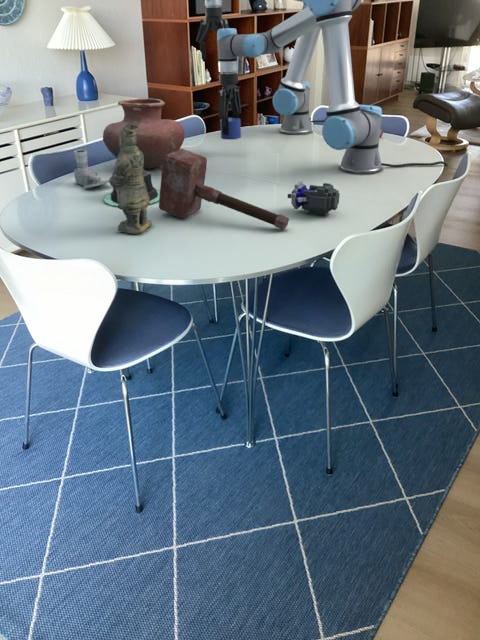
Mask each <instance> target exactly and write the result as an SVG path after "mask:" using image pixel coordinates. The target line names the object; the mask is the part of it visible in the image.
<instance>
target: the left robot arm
mask: <svg viewBox="0 0 480 640" xmlns="http://www.w3.org/2000/svg"><path fill="white" fill-rule="evenodd" d="M294 1H296V2H300V3H302V4H303V5H302V8H301V10H303V9H305V8H306V7H308V3H307V0H294ZM204 6H205V7H204V8H205V9H204V15H205V18H206V19H205V18H201V19H200V25H199V28H198V31H197V34H196V37H195V38H196V39H195V42H196V43H198V44H199V52H200V53H201V54H200V56H201V60H207V43H206V40H207V38H208V37H209V35H210V33H211V32H213V31H215V32H218V30H219V29H225V28H230V26H229V20H228V19H227V18H225V19H223V8H222V6H223V0H204ZM321 32H322V29H321V28H320V27H319V26H318V27H316V28H315V29H313V30H311V31H309V32H308V33H306V34H304V35H302V36H301V37H299V38H297V39H295V44H294V47H293V51H292V54H291V57H290V61H289V64H288V68H287V70H286V73H285V76H284V77H283V78H281V79H280V82H279V85H278V89H277V90H276V91H275V92H274V94H273V97H272V106H273V109H274V110H275V112H277V113H278V114H279V115H282V116H283V119H282V122H281V125H280V133H282V134H284V135H293V136H294V135H295V136H298V135H299V136H300V135H308V134H310V133H312V132H313V126H312V123H325V121H326V120H327V119H322V120H320V119H318V120H316V119H315V120H311V119H310V98H311V97H310V96H311V95H310V94H311V84H310V82H309V81H305V80H306V77H307V74H308V71H309V69H310V65H311V62H312V59H313V55H314V53H315V49H316V46H317V43H318V40H319V37H320V33H321Z"/></svg>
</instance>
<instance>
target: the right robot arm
mask: <svg viewBox="0 0 480 640" xmlns="http://www.w3.org/2000/svg"><path fill="white" fill-rule="evenodd" d="M307 3H308V7H306V8H305V9H303V10H302V9H301V10H299V11H298V12H297V13H295V14H293V15H292V16H290V17H289V18H286V19H285V20H283V21H282V22H281V23H279V24H277V25H275V26H274V27H272V28H270V29H269V30H267V31H265V32H257V33H251V34H250V33H248V34H238V31H237V28H233V27H232V28H231V27H229V28H225V29H224V28H223V29H219V30H218V31H216V32H217V33H216V44H217V45H216V46H217V61H218V63H217V66H218V79H219V80H218V83H219V84H220V85H222V87H221V90H218V92H217V94H218V110H217V111H218V112H217V113H218V115H217V116H218V118H219V119H222V135H229V122H228V118H229V117H228V116H229V115H228V113H229V107H231V111H232V113H231V118H240V116H239V115H240V114H241V113H242V105H241V98H240V97H241V96H240V86H238V85H236V84H239V73H238V71H239V65H238V62H239V61H238V57H243V58H244V57H245V58H251V59H252V58H258V57H260V56H264V55H273V54H276V53H279V52H280V51H281V50H282V49H283V48H284V47H285V46H286V45H288V44H290V43H292V42H294V41H296V40H297V38H299V37H301V36H302V35H304V34H306V33H308V32H309V31H311V30H313V29H315V28H316V27H318V26H319V27H320V28H321V37H322V45H323V54H324V62H325V64H324V65H325V72H326V81H327V82H326V83H327V90H328V91H327V92H328V100H329V106H328V107H327V109H326V110H325V113H326V114H325V115H326V119H325V120H326V121H325V122H323V125H322V128H321V133H322V138H323V140H324V142H325V144H326V145H327V146H329V147H330V148H331V149H333V150H336V151H343V150H345V151H344V154H343V156H342V158H341V162H340V170H341V171H343V172H345V173H349V174H355V175H356V174H357V175H369V174H370V175H371V174H376V173H378V172H380V171H382V166H383V167H389V168H402V167H410V166H412V167H413V166H415V167H417V166H421V167H422V166H423V167H427V166H436V165H437V166H438V165H444V166H445V167H449V164H448V163H447V162H445V161H443V160H440V161H435V162H408V163H399V164H392V163H391V164H390V163H385V162H382V161H381V155H380V150H379V147H380V145H379V144H380V138H379V137H380V130H381V129H382V128H381V127H382V119H383V109H382V108H381V107H380V106H378V105H372V104H371V105H370V104H359V103H358V102H357V101H356V95H355V86H354V74H353V65H352V63H353V62H352V53H351V42H350V30H349V22H350V21H351V19H352V18H353V12H354V11H356V9H358V7H359V6H360V4H361V3H362V0H307Z"/></svg>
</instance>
